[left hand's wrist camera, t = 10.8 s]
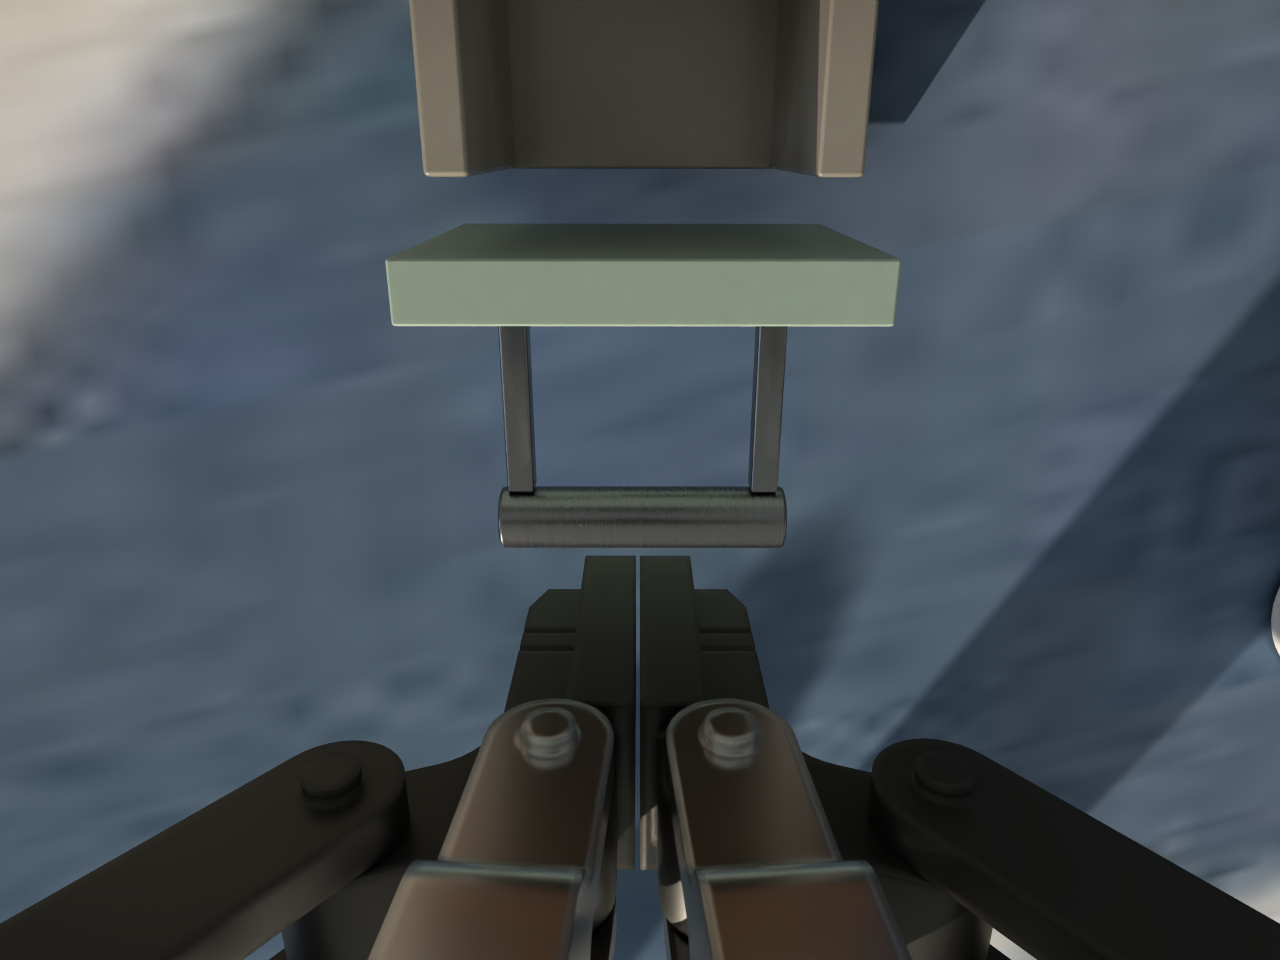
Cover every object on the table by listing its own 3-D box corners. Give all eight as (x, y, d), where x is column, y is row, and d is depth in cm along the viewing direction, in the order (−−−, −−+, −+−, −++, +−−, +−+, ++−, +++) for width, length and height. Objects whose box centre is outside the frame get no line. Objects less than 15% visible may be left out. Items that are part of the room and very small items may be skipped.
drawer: (802, 478, 24) (865, 606, 18) (481, 478, 24) (420, 605, 18) (870, -439, 17) (1017, -811, 11) (416, -439, 17) (273, -812, 11)
